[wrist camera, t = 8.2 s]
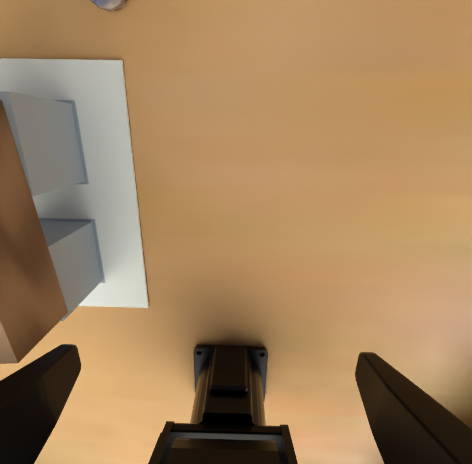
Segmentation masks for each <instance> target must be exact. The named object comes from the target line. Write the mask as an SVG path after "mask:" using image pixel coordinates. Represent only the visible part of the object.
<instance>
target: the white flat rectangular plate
mask: <svg viewBox="0 0 472 464" xmlns="http://www.w3.org/2000/svg"><path fill="white" fill-rule="evenodd" d="M0 91H2V92H13V93H18V94H24V95H29V96H34V97H39V98H44V99H50V100H55V101H60V102H65V103H70V104H72V108H73V114H74V119H75V125H76V131H77V137H78V143H79V149H80V155H81V161H82V167H83V172H84V178H85V182H82V183H78V184H75V185H71V186H68V187H64V188H61V189H57V190H54V191H50V192H47V193H43V194H40V195H36V196H32V198H33V201H34V204H35V208H36V211H37V214H38V217H39V220H40V221H74V222H92V225H93V231H94V237H95V243H96V249H97V255H98V261H99V266H100V272H101V278H102V281H101V282H100V283H99V284H98V286H97V287H96V288H95V289H94V290H93V291H92V292H91V293H90V294H89V295H88V296H87V297H86V298H85V299H84V300H83V301H82V302H81V303H80V304H79V305H78V306H102V307H139V308H148V307H149V302H148V293H147V284H146V274H145V265H144V256H143V247H142V237H141V228H140V219H139V209H138V200H137V191H136V181H135V172H134V163H133V153H132V144H131V135H130V125H129V116H128V107H127V97H126V88H125V79H124V70H123V61H122V60H75V59H9V58H0Z"/></svg>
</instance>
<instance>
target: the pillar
mask: <svg viewBox="0 0 472 464" xmlns="http://www.w3.org/2000/svg"><path fill="white" fill-rule="evenodd" d="M40 224H41V227H42V230H43V233H44V236H45V239H46V243H47V246H48V249H49V252H50V255H51V259H52V262H53V265H54V268H55V271H56V275H57V278H58V281H59V284H60V287H61V291H62V294H63V297H64V300H65V303H66V307H67V310H68V313H67V314H66V315H65V316H64V317H63V318H62V319H61V320H60V321H64V320H65V319H66V318H67V316H68V315H69V314H70V313H71V312H72V311H73V310H74V309H75V308H76V307H77V306H78V305H79V304H80V303H81V302H82V301H83V300H84V299H85V298H86V297H87V296H88V295H89V294H90V293H91V292H92V291H93V290H94V289H95V288H96V287H97V286H98V284H99V283H100V282H101V281H102V278H101V272H100V266H99V261H98V255H97V249H96V243H95V237H94V231H93V225H92V222H74V221H40Z"/></svg>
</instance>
